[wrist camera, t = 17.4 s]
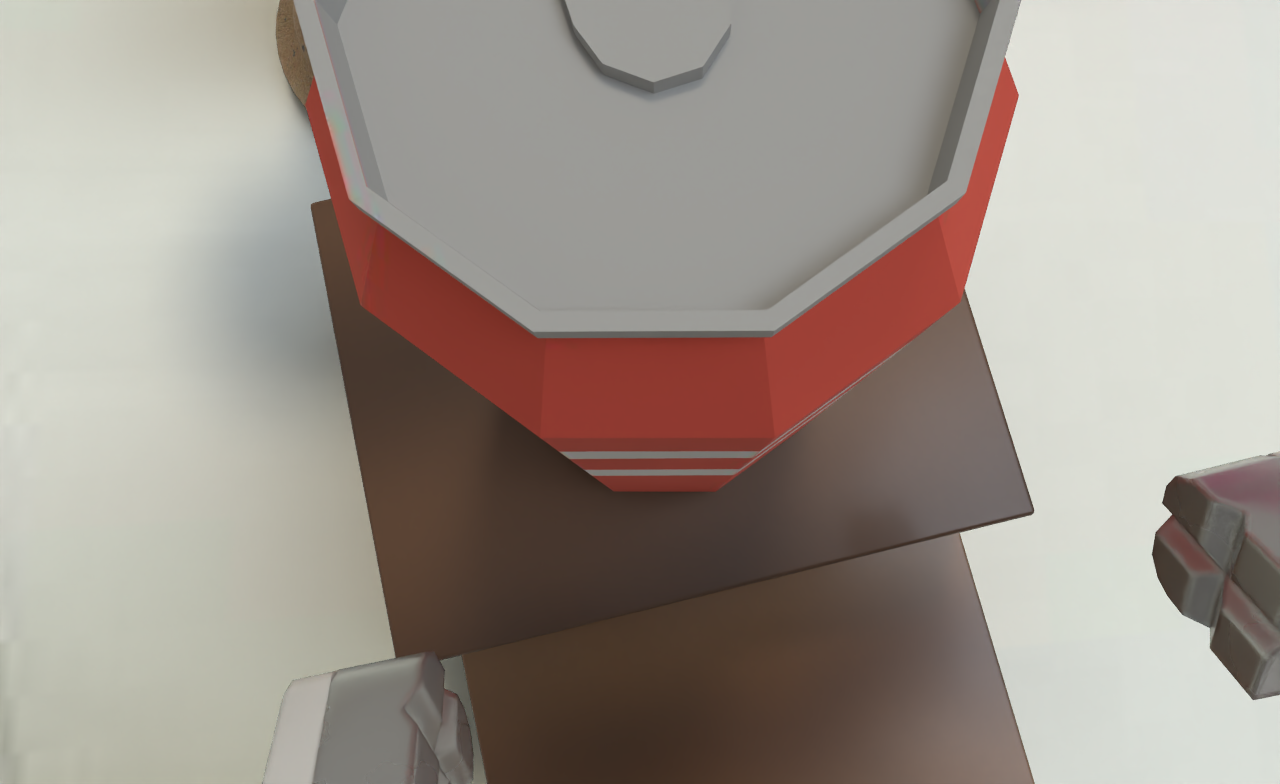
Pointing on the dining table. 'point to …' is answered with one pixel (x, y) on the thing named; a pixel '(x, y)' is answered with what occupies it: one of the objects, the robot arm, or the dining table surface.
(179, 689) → the dining table surface
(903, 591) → the step shelf
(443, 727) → the robot arm
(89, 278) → the dining table surface
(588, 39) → the beverage can
